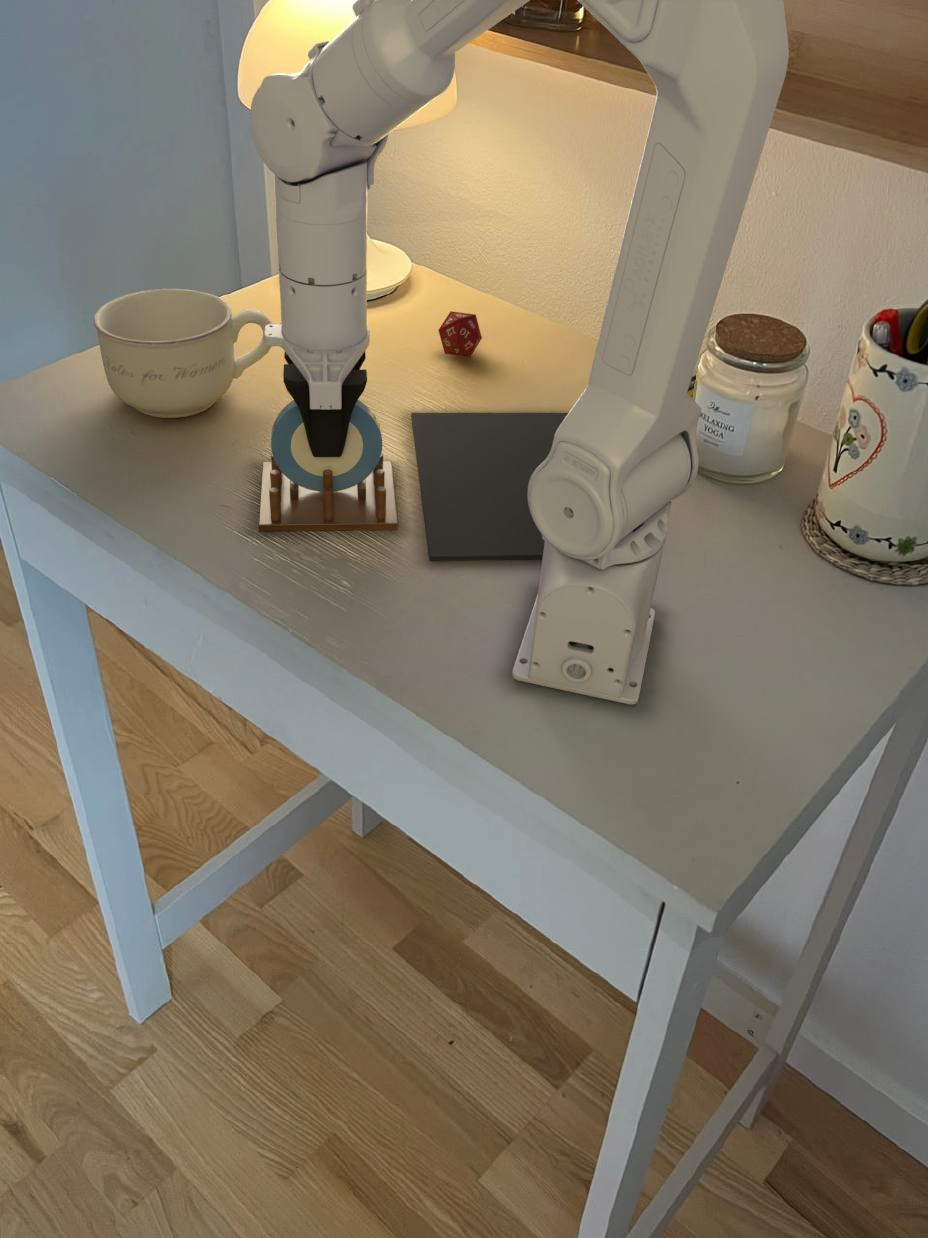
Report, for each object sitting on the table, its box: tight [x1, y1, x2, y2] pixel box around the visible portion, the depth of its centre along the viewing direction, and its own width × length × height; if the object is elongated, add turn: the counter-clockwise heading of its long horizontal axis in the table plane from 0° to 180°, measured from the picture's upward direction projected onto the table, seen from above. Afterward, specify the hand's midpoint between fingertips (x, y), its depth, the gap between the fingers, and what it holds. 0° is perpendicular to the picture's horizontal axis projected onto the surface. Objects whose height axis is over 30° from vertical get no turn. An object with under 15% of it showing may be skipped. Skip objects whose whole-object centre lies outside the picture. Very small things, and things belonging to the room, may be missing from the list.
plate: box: [270, 399, 383, 492], centre depth 82 cm, size 1×8×8 cm, turn 96°
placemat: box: [410, 412, 569, 562], centre depth 88 cm, size 20×14×1 cm
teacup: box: [93, 288, 273, 419], centre depth 93 cm, size 14×11×8 cm
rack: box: [258, 452, 399, 532], centre depth 84 cm, size 8×10×3 cm
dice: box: [438, 311, 483, 358], centre depth 103 cm, size 4×4×4 cm
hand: (327, 447), depth 83 cm, fingers closed
